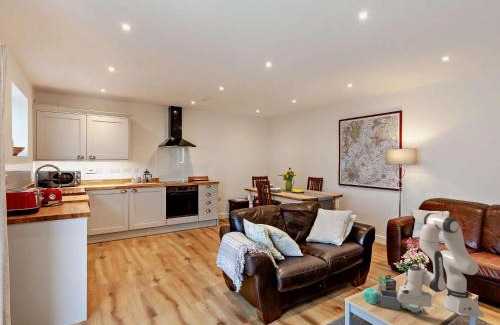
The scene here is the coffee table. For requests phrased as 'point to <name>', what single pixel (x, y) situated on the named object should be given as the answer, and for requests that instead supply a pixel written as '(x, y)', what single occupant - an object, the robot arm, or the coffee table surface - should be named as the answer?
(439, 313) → the coffee table surface
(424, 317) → the coffee table surface
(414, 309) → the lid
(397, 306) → the tub
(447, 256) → the robot arm
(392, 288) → the chalk box
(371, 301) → the decorative dice
